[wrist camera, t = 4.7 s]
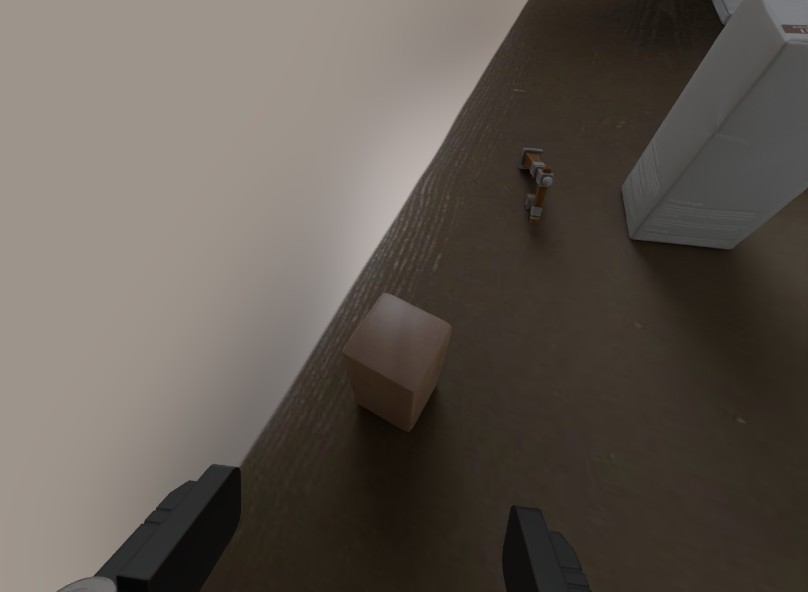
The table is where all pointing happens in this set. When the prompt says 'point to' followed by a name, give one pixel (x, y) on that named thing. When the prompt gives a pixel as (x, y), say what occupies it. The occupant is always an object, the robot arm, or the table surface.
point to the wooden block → (396, 360)
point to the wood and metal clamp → (543, 179)
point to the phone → (725, 9)
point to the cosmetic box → (729, 135)
